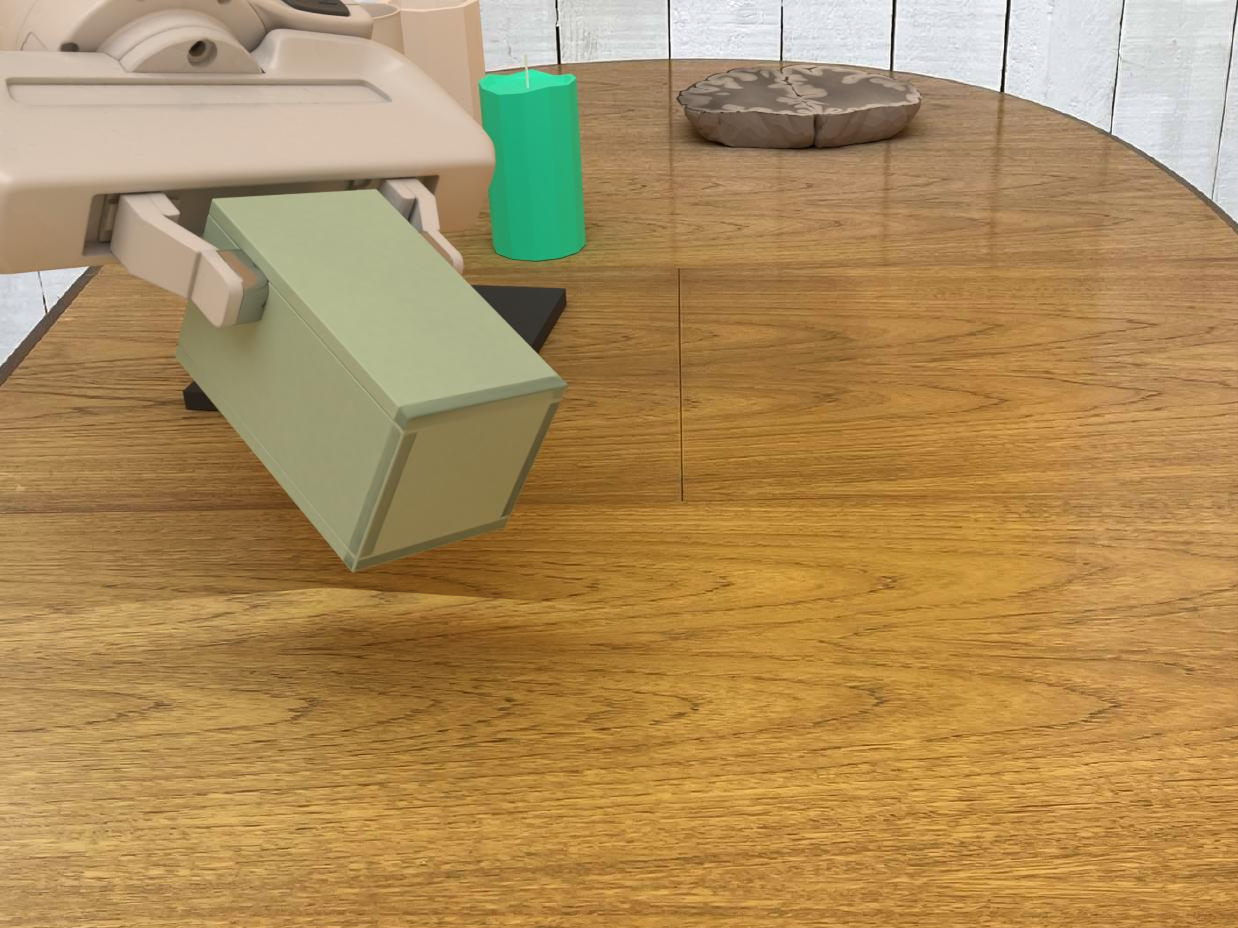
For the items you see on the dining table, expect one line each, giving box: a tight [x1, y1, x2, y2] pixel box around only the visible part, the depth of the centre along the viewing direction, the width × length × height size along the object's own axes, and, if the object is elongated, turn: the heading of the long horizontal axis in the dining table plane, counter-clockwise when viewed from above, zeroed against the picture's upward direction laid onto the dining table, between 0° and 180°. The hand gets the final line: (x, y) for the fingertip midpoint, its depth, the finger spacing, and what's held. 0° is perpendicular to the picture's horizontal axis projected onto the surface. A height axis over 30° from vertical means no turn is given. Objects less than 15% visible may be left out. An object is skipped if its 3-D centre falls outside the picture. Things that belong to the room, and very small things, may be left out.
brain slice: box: [675, 63, 923, 149], centre depth 116 cm, size 20×17×3 cm
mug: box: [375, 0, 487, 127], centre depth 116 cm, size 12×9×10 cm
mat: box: [182, 284, 567, 411], centre depth 77 cm, size 16×16×1 cm
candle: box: [478, 53, 587, 262], centre depth 89 cm, size 6×6×12 cm
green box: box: [174, 189, 569, 573], centre depth 47 cm, size 11×6×6 cm, turn 44°
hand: (352, 294), depth 47 cm, fingers closed on green box, 6 cm apart
